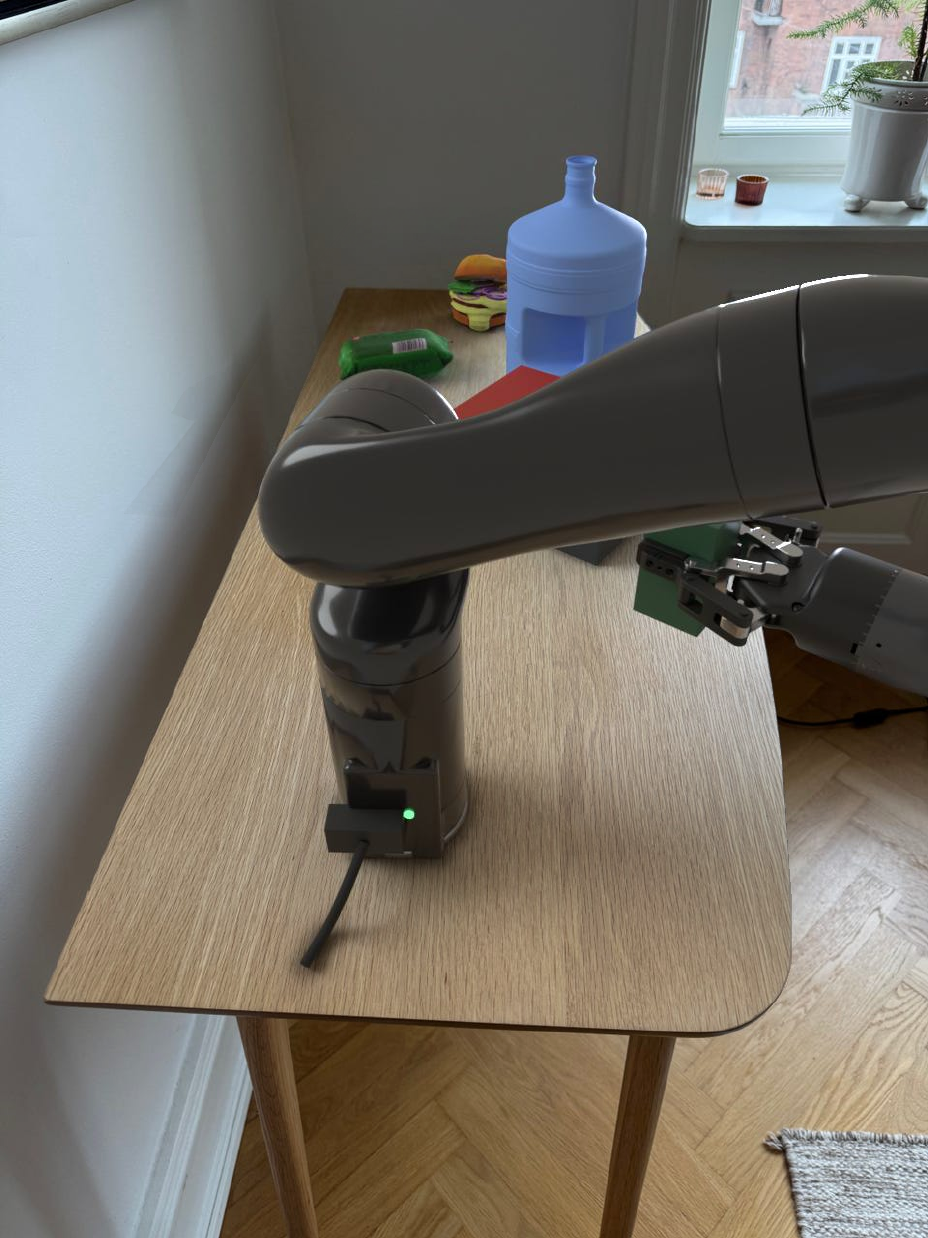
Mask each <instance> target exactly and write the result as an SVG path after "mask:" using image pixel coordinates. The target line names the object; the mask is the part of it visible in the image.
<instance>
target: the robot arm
mask: <svg viewBox="0 0 928 1238" xmlns="http://www.w3.org/2000/svg"><path fill="white" fill-rule="evenodd" d="M453 409H454V407H452V406H451V404H450V403H449V402H448V400H447V399H446V398H445V397H444V396H443V395H442V394H441V392H440V391H438V390H437V389H436V388H435V387H434V386H432V385H431V384H429V383H428V382H426V381H425V380H424V379H420V378H418V377H416V376H413V375H411V374H409V373H405V372H402V371H398V370H391V369H374V370H368V371H363V372H360V373H357V374H354V375H352V376H350V377H348V378H346V379H345V380H341V381H340V382H339V383H338V384H336V385H335V386H334V387H333V388H332V389H330V390H329V391H328V392H327V394H325V396H324V397H323V398H322V399H321V400H320V402H319V403H318V404H316V406H315V407H314V408H313V409H312V410H311V411H310V412H309V413H308V415H307V416H306V417H305V418H304V419H303V420H302V421H301V422H300V423H299V425H297V427H296V428H295V429H294V430H293V431H292V432H291V434H290V435H288V437H287V438H286V440H285V441H284V442H283V443H282V444H281V446H280V447H279V448H278V449H277V451H276V452H275V454H274V455H273V457H272V459H271V461H270V463H269V464H268V467H267V469H266V471H265V473H264V476H263V479H262V481H261V484H260V487H259V491H258V496H257V511H256V513H257V518H258V523H259V528H260V531H261V534H262V537H263V539H264V541H265V542H266V544H267V546H268V548H270V550H271V551H272V552H273V553H274V555H275V556H276V557H277V558H278V559H279V560H280V561H282V562H283V563H284V564H285V565H286V566H288V568H290V569H292V570H293V571H294V572H296V573H298V574H299V575H300V576H302V577H305V578H307V579H310V580H312V581H314V582H315V585H314V589H313V591H312V595H311V599H310V604H309V614H308V615H309V617H308V618H309V627H310V634H311V639H312V645H313V646H312V647H313V651H314V656H315V662H316V668H317V673H318V681H319V686H320V692H321V698H322V704H323V711H324V715H325V721H326V728H327V733H328V740H329V745H330V750H331V757H332V763H333V768H334V775H335V781H336V786H337V790H338V791H337V792H338V796H339V797H338V798H339V803H328V805H327V809H326V810H327V811H326V816H325V822H324V827H323V832H324V837H325V841H326V847H327V852H328V853H330V854H332V853H334V854H353V855H352V858H351V860H350V862H349V865H348V868H347V870H346V873H345V876H344V878H343V880H342V883H341V885H340V887H339V889H338V891H337V894H336V897H335V899H334V901H333V903H332V905H331V907H330V909H329V911H328V914H327V916H326V917H325V920H324V922H322V925H321V927H320V928H319V930H318V932H317V933H316V935H315V937H314V938H313V940H312V942H311V943H310V946H309V947H308V949H307V950H306V951H305V953H304V954H303V956H302V957H301V959H300V961H299V963H300V965H301V966H302V967H304V968H306V969H310V968H311V966H312V965H313V963H314V962H315V960H316V958H317V957H318V956H319V953H320V952H321V951H322V949H323V947H324V946H325V944H326V942H327V940H328V939H329V937H330V935H331V933H332V932H333V930H334V929H335V926H336V924H337V923H338V921H339V919H340V917H341V914H342V912H343V910H344V908H345V906H346V903H347V902H348V899H349V898H350V895H351V892H352V889H354V888H353V887H354V886H355V883H356V880H357V878H358V875H359V872H360V870H361V867H362V865H363V862H364V859H365V858H391V859H441V858H442V857H443V856H444V848H445V845H446V844H447V843H448V842H450V841H451V840H452V839H453V838H454V837H455V836H456V835H457V833H458V832H459V831H460V829H461V827H462V826H463V824H464V822H465V819H466V816H467V813H468V807H469V805H468V804H469V803H468V789H467V780H466V779H467V778H466V748H465V747H466V746H465V744H466V743H465V712H464V710H465V708H464V707H465V706H464V674H463V673H464V672H463V671H464V670H463V669H464V665H463V661H464V660H463V659H464V657H463V612H464V607H465V603H466V597H467V594H468V590H469V584H470V577H471V570H472V569H471V568H474V567H477V566H481V565H485V564H489V563H492V562H496V561H500V560H505V559H509V558H513V557H517V556H520V555H526V554H530V553H535V552H540V551H541V552H542V551H545V550H551V549H555V548H559V547H565V546H572V545H579V544H586V543H593V542H599V541H605V540H612V539H618V538H624V539H626V538H630V537H636V536H641V535H644V534H648V533H654V532H660V531H667V530H673V529H679V528H686V527H693V526H702V525H711V524H721V523H732V522H741V521H742V524H741V528H740V532H739V534H738V541H737V546H736V550H735V554H734V556H733V558H728V557H725V558H722V559H721V560H720V561H713V562H711V561H709V560H706V559H702V558H696V557H689V554H688V553H685V552H682V551H680V550H677V549H675V548H672V547H670V546H667V545H665V544H662V543H660V542H657V541H654V540H652V539H649V538H644V539H642V540H640V542H638V544H637V549H636V556H635V562H636V564H637V565H638V567H639V566H640V567H641V568H643V569H644V570H646V571H648V572H650V573H651V572H652V573H653V574H655V575H656V574H657V575H658V576H660V577H663V578H665V579H668V580H670V581H672V582H675V583H676V584H677V585H678V586H679V593H678V597H677V601H676V606H677V607H678V608H679V609H681V610H682V611H684V612H685V613H687V614H688V615H690V616H691V617H693V618H694V619H695V620H697V621H698V622H700V623H701V624H703V625H704V626H706V627H705V628H707V629H708V630H710V631H711V632H713V633H714V634H715V635H717V636H719V637H720V638H722V639H723V640H724V641H726V642H728V643H729V644H730V645H732V646H734V647H738V648H741V647H744V646H746V645H747V643H748V639H749V636H750V634H751V633H753V632H755V631H756V630H758V629H759V628H761V627H764V628H767V629H776V630H782V631H785V632H788V633H789V634H791V636H792V637H793V639H794V643H795V645H796V646H797V647H798V649H800V650H803V651H805V652H807V653H809V654H812V655H815V656H817V657H819V658H821V659H825V660H827V661H829V662H831V663H834V664H836V665H838V666H842V667H843V668H846V669H848V670H850V671H853V672H855V673H858V674H860V675H863V676H865V677H867V678H870V679H872V680H874V681H877V682H879V683H882V684H884V685H886V686H889V687H892V688H894V689H898V690H900V691H904V692H908V693H910V694H911V693H912V694H914V695H919V696H922V697H925V698H927V699H928V576H927V575H923V574H921V573H918V572H915V571H913V570H909V569H907V568H903V567H902V566H899V565H896V564H893V563H890V562H887V561H885V560H883V559H879V558H876V557H873V556H870V555H867V554H865V553H862V552H859V551H856V550H853V549H851V548H848V547H839V548H836V549H834V551H832V553H830V555H827V554H826V553H824V552H823V551H822V550H820V549H819V548H818V546H819V542H820V539H821V536H822V533H823V530H824V527H823V524H821V523H820V522H817V521H812V520H807V519H803V518H802V519H801V518H796V517H790V516H789V515H797V514H803V513H810V512H811V513H812V512H817V511H825V510H828V509H829V508H830V509H833V510H834V509H839V508H844V507H848V506H854V505H855V506H856V505H861V504H865V503H871V502H877V501H882V500H888V499H895V498H898V497H899V498H901V497H907V496H913V495H920V494H927V493H928V277H920V276H912V275H911V276H910V275H893V274H892V275H890V274H889V275H888V274H854V275H853V274H852V275H846V276H837V277H832V278H825V279H821V280H816V281H812V282H807V283H803V284H802V285H801V286H800V285H795V286H791V287H787V288H784V289H780V290H779V289H778V290H775V291H771V292H766V293H763V294H759V295H754V296H752V297H747V298H743V299H740V300H736V301H732V302H728V303H725V304H720V305H716V306H712V307H710V308H706V309H704V310H699V311H698V312H694V313H692V314H689V315H686V316H683V317H681V318H678V319H675V320H673V321H670V322H667V323H665V324H663V325H660V326H658V327H657V328H654V329H651V330H649V331H647V332H644V333H642V334H640V335H638V336H636V337H634V339H632V340H630V341H628V342H626V343H624V344H622V345H620V346H618V347H616V348H614V349H612V350H610V351H608V352H606V353H604V354H603V355H601V356H599V357H597V358H595V359H593V360H591V361H590V362H588V363H586V364H584V365H582V366H581V367H579V368H577V369H575V370H573V371H572V372H570V373H568V374H566V375H564V376H563V377H561V378H559V379H557V380H555V381H553V382H551V383H550V384H548V385H546V386H544V387H542V388H540V389H538V390H536V391H534V392H532V393H530V394H529V395H527V396H525V397H523V398H520V399H518V400H516V401H514V402H511V403H509V404H507V405H504V406H502V407H500V408H497V409H494V410H491V411H488V412H485V413H482V414H479V415H475V416H471V417H467V418H463V419H460V420H459V418H458V416H457V415H456V413H455V411H454V410H453ZM755 526H756V527H755ZM761 527H765V528H769V529H770V530H771V531H770V532H769V531H767V530H765V529H763V528H761ZM739 544H740V545H739ZM700 574H703V575H709V576H713V577H715V578H716V582H714V583H710V582H709V583H708V582H706V581H705V580H703V579H702V578H700ZM732 576H733V579H732V583H731V588H730V589H731V590H729V589H728V587H727V588H726V584H727V580H728V578H729V579H730V577H732ZM696 596H698V597H699V598H701V599H702V601H703V604H702V603H701V602H699V601H698V600H696V599H695V598H696Z"/></svg>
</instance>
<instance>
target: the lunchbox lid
mask: <svg viewBox="0 0 928 1238" xmlns="http://www.w3.org/2000/svg"><path fill="white" fill-rule="evenodd" d="M559 378H561V377H559V376H556V375H553V374H549V373H546V372H543V371H540V370H536V369H533V368H530V367H527V366H523V365H520V366H519V367H517V368H516V369H514V370H513V371H511V372H510V373H508V374H507V375H506V374H505V375H503V376H502V377H500V378H499V379H497V380H496V381H494V382H493V383H491V384H489V385H488V386H487V387H484V389H482V390H480V391H479V392H477V393H476V394H474V395H473V396H471V397H470V398H467V400H465V401H463V402H462V403H460V404H458V405H457V406H456V407H453V410H454V411H455V413H456V415H457V416H458V418H459V420H460V419H463V418H467V417H471V416H475V415H479V414H482V413H485V412H488V411H491V410H494V409H497V408H500V407H502V406H504V405H507V404H509V403H511V402H514V401H516V400H518V399H520V398H523V397H525V396H527V395H529V394H530V393H532V392H534V391H536V390H538V389H540V388H542V387H544V386H546V385H548V384H550V383H551V382H553V381H555V380H557V379H559Z"/></svg>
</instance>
